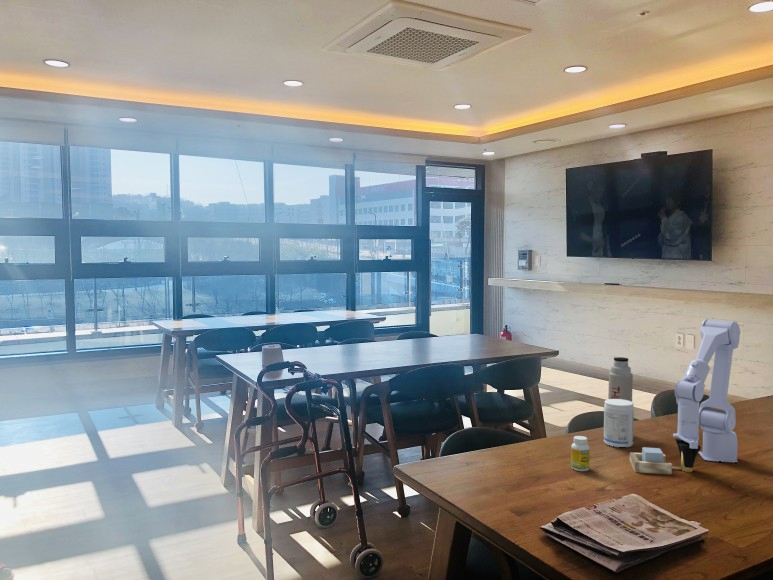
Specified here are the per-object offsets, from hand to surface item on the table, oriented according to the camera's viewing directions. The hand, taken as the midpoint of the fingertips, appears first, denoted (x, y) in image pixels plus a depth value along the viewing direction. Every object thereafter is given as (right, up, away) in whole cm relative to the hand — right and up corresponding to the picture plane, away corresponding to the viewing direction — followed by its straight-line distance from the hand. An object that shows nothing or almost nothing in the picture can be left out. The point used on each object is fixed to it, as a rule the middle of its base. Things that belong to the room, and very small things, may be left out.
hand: (686, 465), depth 189 cm
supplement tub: (-11, 0, +26) cm, 28 cm away
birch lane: (-10, -2, +2) cm, 10 cm away
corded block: (-5, -2, +1) cm, 6 cm away
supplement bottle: (-32, -2, +2) cm, 32 cm away
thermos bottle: (-7, 0, +36) cm, 37 cm away
